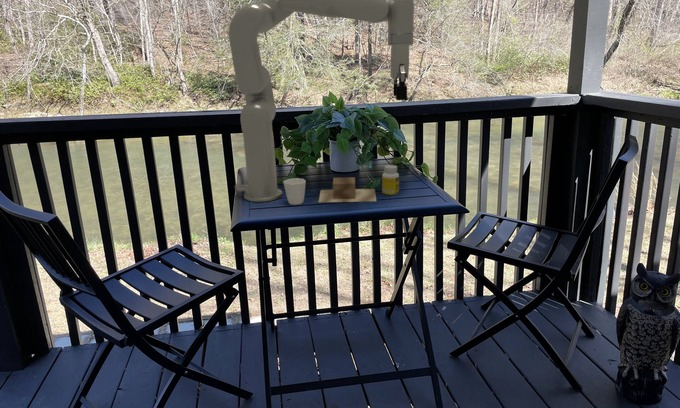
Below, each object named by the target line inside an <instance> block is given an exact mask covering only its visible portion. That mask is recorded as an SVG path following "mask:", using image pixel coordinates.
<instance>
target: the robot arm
mask: <svg viewBox="0 0 680 408" xmlns="http://www.w3.org/2000/svg"><path fill="white" fill-rule="evenodd" d="M414 2H415V1H414V0H261V1H259V2H250V3H247V4H245V5H244V6H242V7H240V9H238V10H237V11H236V13H235V14H234V15H233V17H232V18H231V21H230V23H229V28H228V29H229V30H228V41H229V46H230V52H231V58H232V66H233V71H234V76H235V82H236V86H237V88H238V91H239V92H241V93H242V94H243V95H244V99H245V100H244V101H245V104H244V106H243V107H242V109H241V112H240V120H239V121H240V125H241V126H240V127H241V131H242V132H241V133H242V138H243V146H244V156H245V158H244V159H245V168H246V178H247V179H246V181H247V183H244V184H235V185H234V190H235V191H237V193H239V192H240V193H241V192H244V193H243V197H244V199H245V200H246V201H249V202H253V203H254V202H259V203H262V202H271V201H275V200H278V199H280V198H281V197H282V196H283V191H282V190H281V189H279V188H278V180H277V169H276V168H277V165H276V152H275V151H276V150H275V140H274V133H273V120H274V119H275V116H276V111H277V110H276V103H275V101H276V100H275V97H274V89H273V85H272V84H273V83H272V80H271V76H270V72H269V70H268V69H267V68H266V67H265V65H263V64H262V60H261V51H260V47H259V43H258V36H259V34H260V33H261V34H263V33H266V32H269V31H270V30H272V29H273V28H275V27H276V26H277V25H279V24H280V23H282V22H283V21H285V20H286V19H287V18H288V17H290V16H291V15H292V14H294V13H295V12H296V13H300V14H307V15H314V16H320V17H325V18H341V19H342V18H343V19H349V20H356V21H362V22H369V23H371V24H378V23H382V22H383V23H384V22H387V46H390V67H389V68H390V70H389V71H390V78H391V79H392V80H393V96H394V97H395V100H396V101H406V100H408V86H407V84H408V83H407V79H408V78H409V71H410V70H409V69H410V46H413V45H414V11H415V10H414V7H415V6H414Z"/></svg>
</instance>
